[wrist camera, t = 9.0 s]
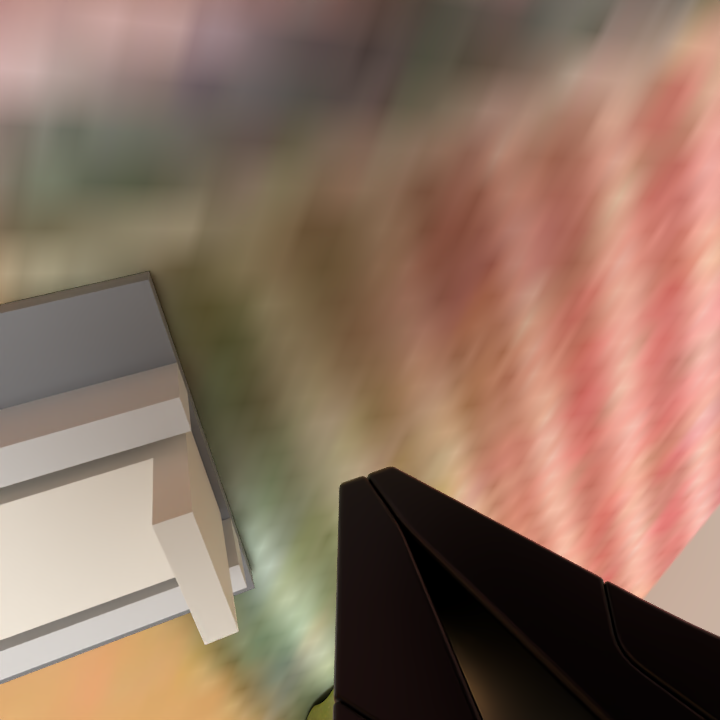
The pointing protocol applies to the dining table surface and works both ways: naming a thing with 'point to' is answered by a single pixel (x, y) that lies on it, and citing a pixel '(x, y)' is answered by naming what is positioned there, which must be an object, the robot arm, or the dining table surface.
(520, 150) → the dining table surface
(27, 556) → the beige angular block
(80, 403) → the grey angular frame
